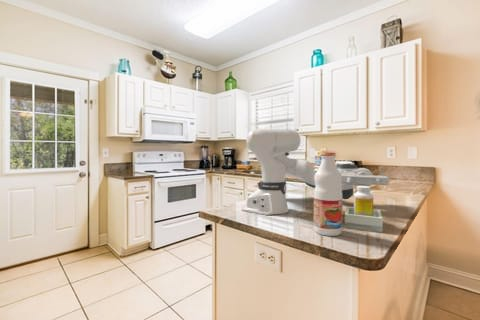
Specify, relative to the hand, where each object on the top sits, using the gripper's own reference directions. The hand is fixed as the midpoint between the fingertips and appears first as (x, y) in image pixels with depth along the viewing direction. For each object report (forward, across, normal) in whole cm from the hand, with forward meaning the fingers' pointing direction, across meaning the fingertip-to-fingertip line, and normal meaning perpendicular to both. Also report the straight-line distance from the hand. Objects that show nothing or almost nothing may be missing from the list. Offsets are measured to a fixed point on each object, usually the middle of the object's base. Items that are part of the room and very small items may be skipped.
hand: (363, 181), depth 100 cm
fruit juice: (+26, +11, -16) cm, 33 cm away
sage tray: (+13, 0, -15) cm, 20 cm away
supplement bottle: (+13, 0, -14) cm, 19 cm away
